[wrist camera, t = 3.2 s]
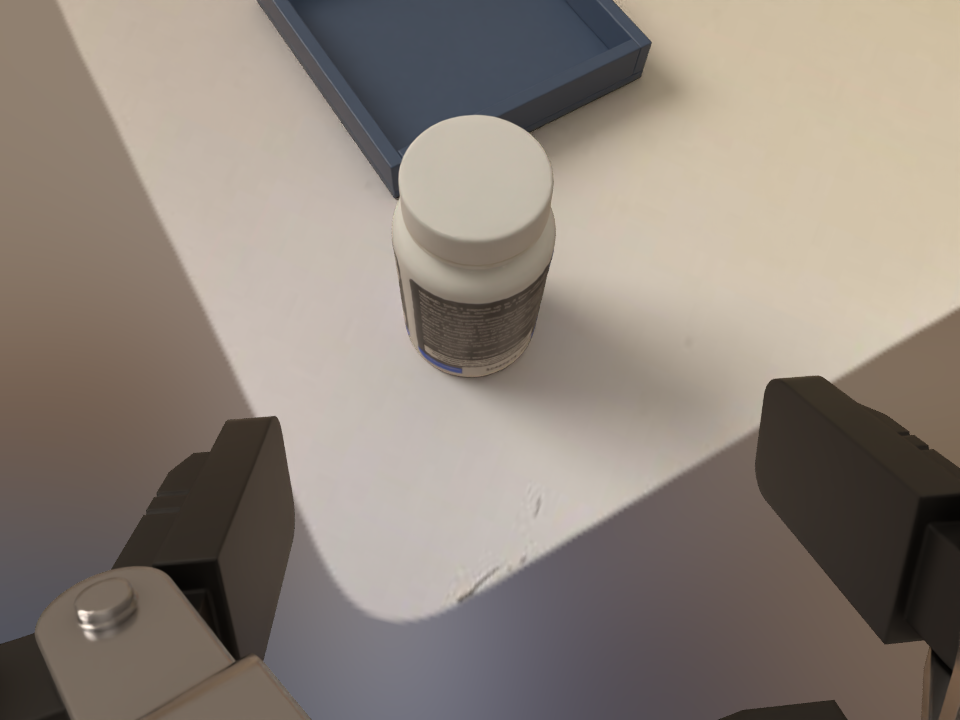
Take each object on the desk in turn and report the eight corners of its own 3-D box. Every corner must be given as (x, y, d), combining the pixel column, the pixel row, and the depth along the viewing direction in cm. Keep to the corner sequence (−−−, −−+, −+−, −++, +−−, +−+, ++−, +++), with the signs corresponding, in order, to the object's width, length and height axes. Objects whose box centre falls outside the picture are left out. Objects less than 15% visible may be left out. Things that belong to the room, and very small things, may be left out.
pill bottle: (561, 332, 25) (609, 193, 18) (455, 405, 24) (456, 290, 16) (482, 240, 27) (494, 74, 19) (379, 305, 26) (347, 155, 18)
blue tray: (394, 198, 27) (390, 168, 26) (257, 1, 31) (245, -38, 29) (641, 77, 30) (653, 41, 28) (488, -91, 34) (490, -131, 32)
